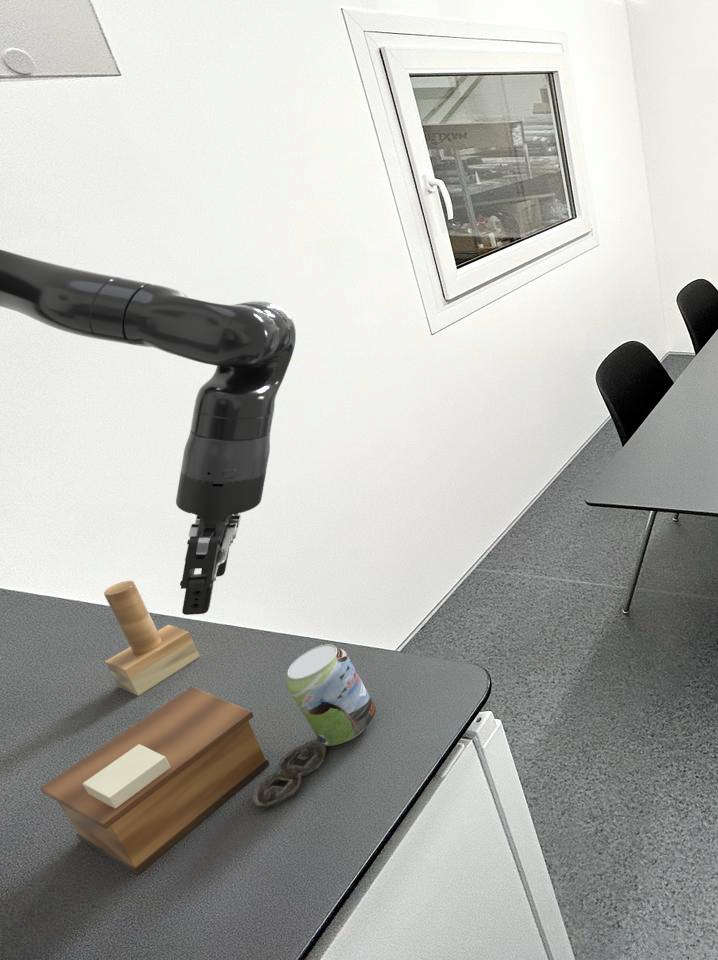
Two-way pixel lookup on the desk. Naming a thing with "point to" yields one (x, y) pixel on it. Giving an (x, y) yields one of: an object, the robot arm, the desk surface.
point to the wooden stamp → (145, 643)
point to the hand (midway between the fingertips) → (204, 593)
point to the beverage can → (330, 694)
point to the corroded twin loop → (289, 773)
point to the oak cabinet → (164, 778)
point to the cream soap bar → (126, 776)
